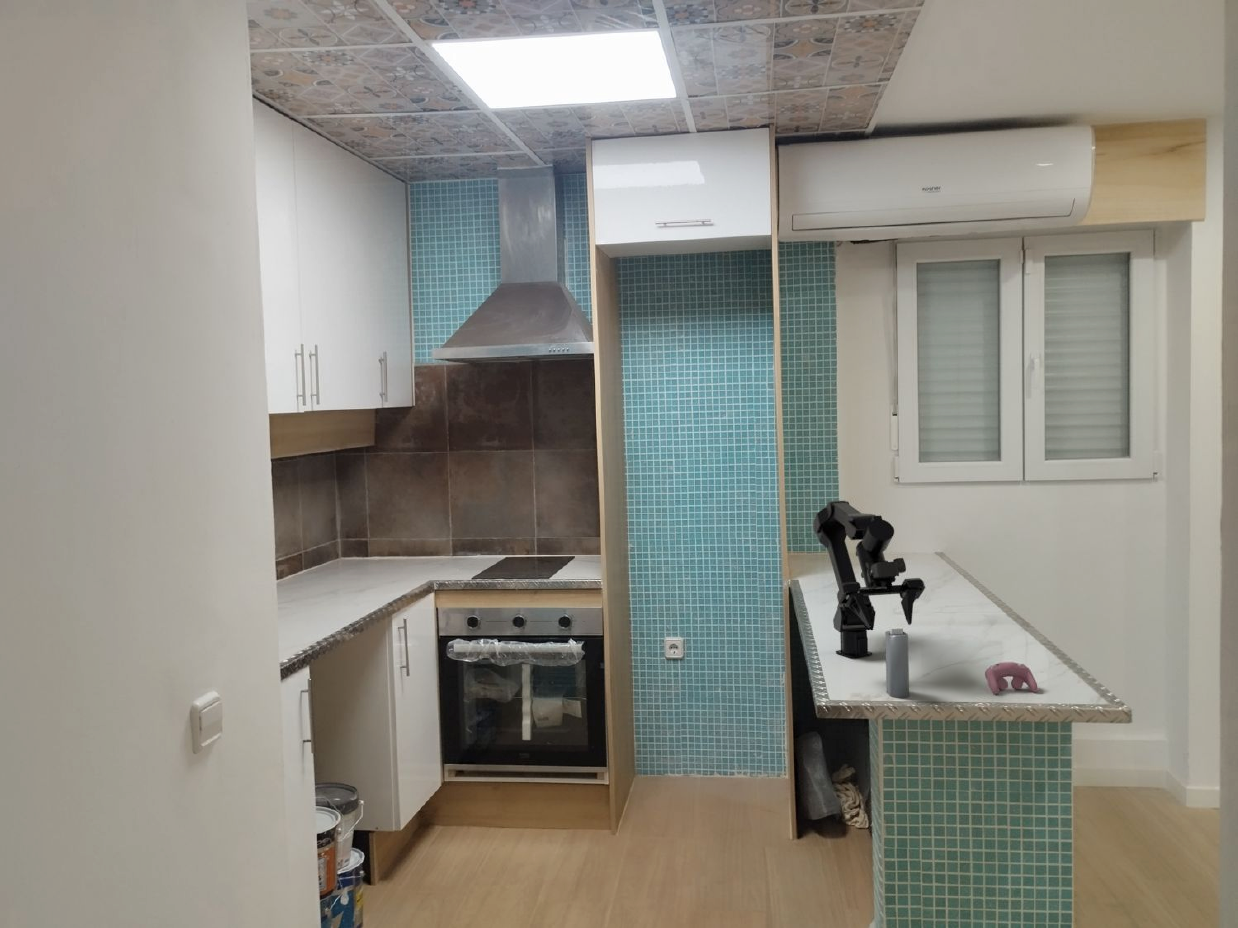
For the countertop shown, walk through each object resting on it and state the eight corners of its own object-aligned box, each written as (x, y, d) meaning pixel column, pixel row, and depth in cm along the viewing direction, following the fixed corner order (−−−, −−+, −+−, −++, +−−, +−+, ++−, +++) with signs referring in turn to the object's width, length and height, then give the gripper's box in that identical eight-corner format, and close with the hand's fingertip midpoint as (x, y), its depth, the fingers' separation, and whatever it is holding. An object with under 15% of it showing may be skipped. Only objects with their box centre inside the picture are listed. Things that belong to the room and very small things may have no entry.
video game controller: (1032, 695, 215) (1025, 662, 218) (1040, 691, 211) (1033, 658, 214) (986, 697, 215) (980, 665, 218) (994, 694, 211) (987, 660, 213)
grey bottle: (884, 690, 218) (882, 625, 217) (902, 689, 218) (900, 624, 217) (893, 698, 212) (891, 631, 211) (912, 697, 212) (910, 630, 211)
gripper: (841, 547, 223) (858, 611, 215) (922, 543, 225) (942, 605, 216) (830, 572, 233) (845, 634, 224) (908, 567, 234) (926, 628, 226)
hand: (890, 625), depth 222 cm, fingers open, 9 cm apart
